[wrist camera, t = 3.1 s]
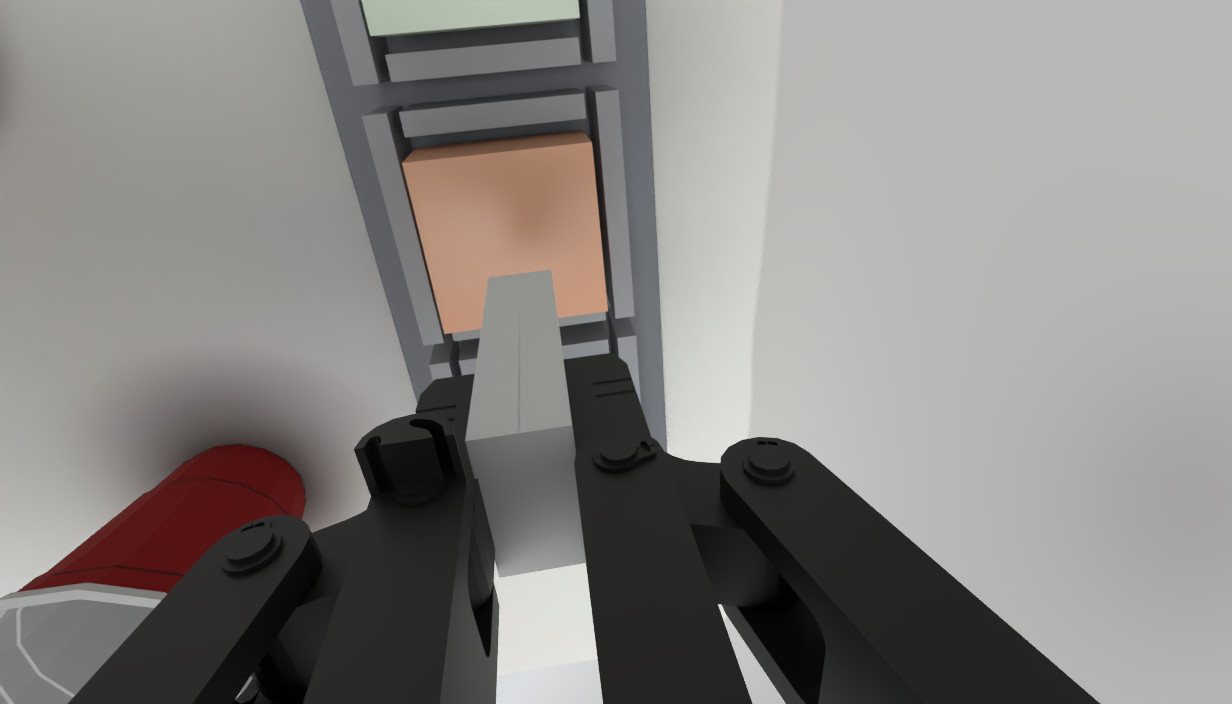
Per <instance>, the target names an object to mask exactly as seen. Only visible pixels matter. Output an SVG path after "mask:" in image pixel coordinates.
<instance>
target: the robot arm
mask: <svg viewBox="0 0 1232 704" xmlns="http://www.w3.org/2000/svg"><path fill="white" fill-rule="evenodd" d="M354 451H355V454H356V456H357V459H358V462H359V464H360V467H361V470H362V473H363V475H364V478H365V481H366V484H367V486H368V489H369V492H370V494H371V499H370V502H369V505H368V508H367V510H365V511H364V512H362V513H361V514H358V515H356V516H354V517H352V518H350V519H347V520H345V521H342V522H340V523H337V524H335V525H332V526H329V527H327V528H324V529H321V530H319V531H316V532H313V533H311V531H310V529H309V526H308V525H307V524H306V523H305V522H304V521H303V520H302V519H301V518H299V517H295V516H290V515H285V514H284V515H276V516H268V517H263V518H261V519H258V520H255V521H252V522H249V523H247V524H244V525H242V526H240V527H239V528H237V529H235V530H233V531H232V532H230V533H228V534H227V535H225V536H223V537H222V538H221V539H220V540H219V541H217V542H216V543H215V544H214V545H213V546H212V547H211V548H209V549H208V550H207V551H206V552H205V553H204V554H203V555H202V556H201V558H200V559H199V560H198V561H197V562H196V563H195V564H194V565H193V566H192V567H191V569H190V570H189V571H188V572H187V573H186V574H185V575H184V576H183V577H182V578H181V580H180V581H179V582H178V583H177V584H176V585H175V586H174V587H173V588H172V589H171V591H170V592H169V593H168V594H167V595H166V596H165V597H164V598H163V599H162V600H161V602H160V603H159V604H158V605H157V606H156V607H155V608H154V609H153V610H152V611H151V613H150V614H149V615H148V616H147V617H146V618H145V619H144V620H143V621H142V622H141V624H140V625H139V626H138V627H137V628H136V629H135V630H134V631H133V632H132V633H131V635H130V636H129V637H128V638H127V639H126V640H125V641H124V642H123V643H122V644H121V645H120V647H119V648H118V649H117V650H116V651H115V652H114V653H113V654H112V655H111V656H110V658H109V659H108V660H107V661H106V662H105V663H104V664H103V665H102V666H101V667H100V669H99V670H98V671H97V672H96V673H95V674H94V675H93V676H92V677H91V678H90V680H89V681H88V682H87V683H86V684H85V685H84V686H83V687H82V688H81V689H80V691H79V692H78V693H77V694H76V695H75V696H74V697H73V698H72V699H71V700H70V702H69V703H68V704H496V682H497V680H496V679H497V654H498V626H499V603H498V598H497V594H496V590H495V586H494V582H493V580H494V561H495V562H496V566H497V570H498V574H499V577H505V576H511V575H517V574H523V573H528V572H534V571H540V570H546V569H552V568H557V567H563V566H569V565H575V564H581V563H586V566H587V574H588V583H589V591H590V599H591V607H592V615H593V623H594V632H595V640H596V648H597V656H598V664H599V673H600V681H601V689H602V697H603V704H752V701H751V698H750V696H749V693H748V690H747V687H746V684H745V681H744V678H743V676H742V673H741V670H740V667H739V664H738V661H737V658H736V656H735V653H734V650H733V647H732V644H731V641H730V638H729V636H728V632H727V630H726V627H725V624H724V621H723V618H722V615H721V612H720V610H719V607H718V604H722V606H723V609H724V611H725V613H726V615H727V616H728V617H729V619H730V621H731V622H732V624H733V625H734V627H735V628H736V629H737V631H738V633H739V634H740V635H741V637H742V638H743V640H744V641H745V643H746V644H747V646H748V647H749V649H750V650H751V652H752V653H753V655H754V656H755V658H756V659H757V661H758V662H759V664H760V665H761V667H762V668H763V670H764V671H765V673H766V674H767V676H768V677H769V679H770V680H771V682H772V683H773V685H774V686H775V688H776V689H777V691H778V692H779V694H780V695H781V697H782V698H783V700H784V701H785V703H786V704H1100V703H1099V702H1098V701H1096V700H1095V699H1094V698H1093V697H1092V696H1091V695H1089V694H1088V693H1087V692H1086V691H1085V690H1084V689H1082V688H1081V687H1080V686H1079V685H1078V684H1077V683H1075V682H1074V681H1073V680H1072V679H1071V678H1070V677H1068V676H1067V675H1066V674H1065V673H1064V672H1063V671H1062V670H1060V669H1059V668H1058V667H1057V666H1056V665H1055V664H1054V663H1052V662H1051V661H1050V660H1049V659H1048V658H1046V657H1045V656H1044V655H1043V654H1042V653H1041V652H1040V651H1038V650H1037V649H1036V648H1035V647H1034V646H1033V645H1032V644H1030V643H1029V642H1028V641H1027V640H1025V639H1024V638H1023V637H1022V636H1021V635H1020V634H1019V633H1018V632H1016V631H1015V630H1014V629H1013V628H1012V627H1011V626H1009V625H1008V624H1007V623H1006V622H1005V621H1004V620H1003V619H1001V618H1000V617H999V616H998V615H997V614H996V613H994V612H993V611H992V610H991V609H990V608H988V607H987V606H986V605H985V604H984V603H983V602H981V601H980V600H979V599H978V598H977V597H976V596H975V595H973V594H972V593H971V592H970V591H969V590H968V589H967V588H965V587H964V586H963V585H962V584H961V583H960V582H958V581H957V580H956V579H955V578H954V577H953V576H951V575H950V574H949V573H948V572H947V571H946V570H945V569H943V568H942V567H941V566H940V565H939V564H938V563H936V562H935V561H934V560H933V559H932V558H931V557H929V556H928V555H927V554H926V553H925V552H924V551H922V550H921V549H920V548H919V547H918V546H917V545H916V544H914V543H913V542H912V541H911V540H910V539H909V538H907V537H906V536H905V535H904V534H903V533H902V532H901V531H899V530H898V529H897V528H896V527H895V526H893V525H892V524H891V523H890V522H889V521H888V520H887V519H885V518H884V517H883V516H882V515H881V514H880V513H878V512H877V511H876V510H875V509H874V508H873V507H871V506H870V505H869V504H868V503H867V502H866V501H865V500H863V499H862V498H861V497H860V496H859V495H857V494H856V493H855V492H854V491H853V490H852V489H851V488H849V487H848V486H847V485H846V484H845V483H844V482H842V481H841V480H840V479H839V478H838V477H837V476H835V475H834V474H833V473H832V472H831V471H830V470H829V469H827V468H826V467H825V466H824V465H823V464H822V463H820V462H819V461H818V460H817V459H816V458H815V457H813V456H812V455H811V454H810V453H809V452H807V451H806V450H804V449H803V448H801V447H799V446H798V445H796V444H794V443H791V442H788V441H785V440H781V439H778V438H766V437H765V438H764V437H757V438H751V439H746V440H741V441H739V442H737V443H736V444H734V445H732V446H730V447H728V449H727V450H726V451H725V453H724V454H723V455H722V456H721V463H707V462H696V461H689V460H683V459H680V458H677V457H674V456H672V455H670V454H668V453H666V452H665V451H664V450H663V448H662V447H661V445H660V444H659V443H658V441H657V440H655V439H654V438H652V437H651V434H650V431H649V428H648V425H647V422H646V419H645V416H644V413H643V410H642V407H641V404H640V401H639V398H638V395H637V392H636V389H635V386H634V383H633V380H632V377H631V374H630V371H629V368H628V365H627V363H626V362H624V361H623V360H622V359H620V358H619V357H618V356H617V355H615V354H614V353H606V354H598V355H591V356H584V357H577V358H570V359H564V357H563V350H562V343H561V336H560V329H559V322H558V315H557V308H556V301H555V293H554V286H553V279H552V272H551V270H544V271H536V272H528V273H520V274H512V275H505V276H497V277H489V278H488V284H487V291H486V298H485V305H484V312H483V319H482V326H481V333H480V340H479V347H478V354H477V361H476V368H475V374H469V375H462V376H455V377H448V378H440V379H435V380H434V381H433V382H432V383H431V384H430V385H429V386H428V387H427V388H426V389H425V390H424V391H423V392H422V393H421V395H420V398H419V401H418V405H417V408H416V414H412V415H408V416H404V417H400V418H396V419H393V420H391V421H388V422H386V423H384V424H382V425H380V426H377V427H376V428H374V429H373V430H372V431H370V432H369V433H368V434H366V435H365V436H364V437H362V439H361V440H360V441H359V443H358V444H357V446H356V447H355V448H354ZM250 676H251V677H252V680H251V682H250V683H249V685H248V686H247V688H246V689H245V690H244V691H243V692H242V693H241V694H240V695H239V697H238V698H237V699H236V697H237V696H238V694H239V693H240V691H241V690H242V688H243V687H244V685H245V684H246V682H247V681H248V679H249V678H250Z"/></svg>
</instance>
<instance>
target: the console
mask: <svg viewBox="0 0 1232 704" xmlns="http://www.w3.org/2000/svg"><path fill="white" fill-rule="evenodd" d="M300 1H301V5H302V8H303V11H304V15H305V18H306V22H307V25H308V29H309V32H310V36H311V39H312V42H313V46H314V49H315V53H316V56H317V60H318V63H319V66H320V70H321V73H322V77H323V80H324V84H325V87H326V90H327V94H328V97H329V101H330V104H331V108H332V111H333V115H334V118H335V121H336V125H337V128H338V132H339V135H340V139H341V142H342V145H343V149H344V152H345V156H346V159H347V163H348V166H349V170H350V173H351V176H352V180H353V183H354V187H355V190H356V194H357V197H358V200H359V204H360V207H361V211H362V214H363V218H364V221H365V224H366V228H367V231H368V235H369V238H370V242H371V245H372V249H373V252H374V255H375V259H376V262H377V266H378V269H379V273H380V276H381V279H382V283H383V286H384V290H385V293H386V297H387V300H388V303H389V307H390V310H391V314H392V317H393V321H394V324H395V328H396V331H397V334H398V338H399V341H400V345H401V348H402V352H403V355H404V358H405V362H406V365H407V369H408V372H409V376H410V379H411V382H412V386H413V389H414V393H415V396H416V400H417V403H418V401H419V398H420V395H421V393H422V392H423V391H424V390H425V389H426V388H427V387H428V386H429V385H430V384H431V383H432V382H433V381H434V380H435V379H440V378H448V377H455V376H462V375H469V374H475V368H476V361H477V354H478V347H479V340H480V333H481V329H477V330H470V331H462V332H455V333H448V334H444V330H443V326H442V322H441V318H440V314H439V310H438V306H437V302H436V298H435V294H434V290H433V286H432V282H431V278H430V274H429V270H428V266H427V262H426V258H425V254H424V250H423V246H422V242H421V238H420V234H419V230H418V225H417V221H416V217H415V213H414V209H413V205H412V201H411V197H410V193H409V189H408V185H407V181H406V177H405V173H404V169H403V165H402V162H403V161H404V160H405V159H406V158H407V157H408V156H409V155H410V154H411V153H412V152H413V151H414V149H415V148H421V147H430V146H439V145H448V144H458V143H467V142H476V141H486V140H495V139H504V138H514V137H523V136H532V135H542V134H551V133H560V132H570V131H579V130H583V132H584V133H585V134H586V135H587V137H588V138H589V139H590V140H591V142H592V147H593V158H594V168H595V179H596V190H597V200H598V211H599V221H600V232H601V242H602V253H603V263H604V274H605V284H606V295H607V305H608V311H606V312H599V313H592V314H585V315H577V316H570V317H563V318H558V322H559V329H560V336H561V343H562V350H563V357H564V359H570V358H577V357H584V356H591V355H598V354H606V353H614V354H615V355H617V356H618V357H619V358H620V359H622V360H623V361H624V362H626V363H627V365H628V368H629V371H630V374H631V377H632V380H633V383H634V386H635V389H636V392H637V395H638V398H639V401H640V404H641V407H642V410H643V413H644V416H645V419H646V422H647V425H648V428H649V431H650V434H651V437H652V438H654V439H655V440H657V441H658V443H659V444H660V445H661V447H662V448H663V450H664V451H665V452H666V453H667V443H666V423H665V402H664V381H663V360H662V340H661V319H660V298H659V277H658V256H657V236H656V215H655V194H654V173H653V152H652V132H651V111H650V90H649V69H648V49H647V28H646V7H645V0H578V3H579V13H580V18H578V19H575V20H572V21H566V22H554V23H543V24H532V25H521V26H509V27H498V28H487V29H475V30H464V31H453V32H441V33H430V34H419V35H407V36H396V37H380V36H370V33H369V29H368V25H367V21H366V17H365V13H364V9H363V5H362V1H361V0H300Z"/></svg>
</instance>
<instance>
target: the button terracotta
mask: <svg viewBox="0 0 1232 704" xmlns="http://www.w3.org/2000/svg"><path fill="white" fill-rule="evenodd" d="M402 165H403V169H404V173H405V177H406V181H407V185H408V189H409V193H410V197H411V201H412V205H413V209H414V213H415V217H416V221H417V225H418V230H419V234H420V238H421V242H422V246H423V250H424V254H425V258H426V262H427V266H428V270H429V274H430V278H431V282H432V286H433V290H434V294H435V298H436V302H437V306H438V310H439V314H440V318H441V322H442V326H443V330H444V334H448V333H455V332H462V331H470V330H477V329H481V326H482V319H483V312H484V305H485V298H486V291H487V284H488V278H489V277H497V276H505V275H512V274H520V273H528V272H536V271H544V270H551V272H552V279H553V286H554V293H555V301H556V308H557V315H558V318H563V317H570V316H577V315H585V314H592V313H599V312H606V311H608V305H607V295H606V284H605V274H604V263H603V253H602V242H601V232H600V221H599V211H598V200H597V190H596V179H595V168H594V158H593V147H592V142H591V140H590V139H589V138H588V137H587V135H586V134H585V133H584V132H583V130H579V131H570V132H560V133H551V134H542V135H532V136H523V137H514V138H504V139H495V140H486V141H476V142H467V143H458V144H448V145H439V146H430V147H421V148H415V149H414V151H413V152H412V153H411V154H410V155H409V156H408V157H407V158H406V159H405V160H404V161H403V162H402Z"/></svg>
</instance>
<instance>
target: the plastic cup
mask: <svg viewBox="0 0 1232 704" xmlns="http://www.w3.org/2000/svg"><path fill="white" fill-rule="evenodd" d="M304 496H305V489H304V486H303V483H302V480H301V477H300V475H299V474H298V473H297V472H296V471H295V470H294V469H293V468H292V466H291V465H290V464H289V463H288V462H287V461H286V460H284V459H282V458H280V457H278V456H276V455H275V454H273V453H271V452H269V451H267V450H265V449H261V448H255V447H250V446H245V445H239V444H238V445H228V446H218V447H213V448H211V449H209V450H207V451H205V452H203V453H201V454H199V455H196V456H195V457H193V458H192V459H190V460H188V461H186V462H184V463H183V464H182V465H181V466H179V467H178V468H177V469H176V470H175V471H174V472H172V473H171V474H170V475H169V476H168V477H167V478H165V479H164V480H163V481H162V482H161V483H160V484H158V485H157V486H156V487H155V488H154V489H153V490H151V491H149V492H147V493H145V494H143V495H142V496H140V497H139V498H138V499H137V500H135V501H134V502H133V503H132V504H131V505H129V506H128V507H127V508H126V509H124V510H123V511H122V512H121V513H119V514H118V515H117V516H116V517H114V518H113V519H112V520H111V521H110V522H108V523H107V524H106V525H105V526H103V527H102V528H101V529H100V530H98V531H97V532H96V533H95V534H93V535H92V536H91V537H90V538H88V539H87V540H86V541H85V542H84V543H82V544H81V545H80V546H79V547H77V548H76V549H75V550H74V551H72V552H71V553H70V554H69V555H67V556H66V557H65V558H64V559H63V560H61V561H60V562H59V563H58V564H56V565H55V566H54V567H53V568H51V569H50V570H49V571H48V572H46V573H44V574H42V575H40V576H38V577H36V578H35V579H33V580H32V581H31V582H29V583H28V584H27V585H26V586H24V587H23V588H22V589H20V590H19V591H17V592H14V593H10V594H8V595H6V596H4V597H2V598H0V704H68V703H69V702H70V700H71V699H72V698H73V697H74V696H75V695H76V694H77V693H78V692H79V691H80V689H81V688H82V687H83V686H84V685H85V684H86V683H87V682H88V681H89V680H90V678H91V677H92V676H93V675H94V674H95V673H96V672H97V671H98V670H99V669H100V667H101V666H102V665H103V664H104V663H105V662H106V661H107V660H108V659H109V658H110V656H111V655H112V654H113V653H114V652H115V651H116V650H117V649H118V648H119V647H120V645H121V644H122V643H123V642H124V641H125V640H126V639H127V638H128V637H129V636H130V635H131V633H132V632H133V631H134V630H135V629H136V628H137V627H138V626H139V625H140V624H141V622H142V621H143V620H144V619H145V618H146V617H147V616H148V615H149V614H150V613H151V611H152V610H153V609H154V608H155V607H156V606H157V605H158V604H159V603H160V602H161V600H162V599H163V598H164V597H165V596H166V595H167V594H168V593H169V592H170V591H171V589H172V588H173V587H174V586H175V585H176V584H177V583H178V582H179V581H180V580H181V578H182V577H183V576H184V575H185V574H186V573H187V572H188V571H189V570H190V569H191V567H192V566H193V565H194V564H195V563H196V562H197V561H198V560H199V559H200V558H201V556H202V555H203V554H204V553H205V552H206V551H207V550H208V549H209V548H211V547H212V546H213V545H214V544H215V543H216V542H217V541H219V540H220V539H221V538H222V537H223V536H225V535H227V534H228V533H230V532H232V531H233V530H235V529H237V528H239V527H240V526H242V525H244V524H247V523H249V522H252V521H255V520H258V519H261V518H263V517H268V516H276V515H284V514H285V515H290V516H295V517H299V518H301V519H302V516H303V511H304V506H305V502H306V499H305V497H304ZM251 680H252V677H251V676H250V678H249V679H248V681H247V682H246V684H245V685H244V687H243V688H242V690H241V691H240V693H239V694H238V696H237V697H236V699H237V698H238V697H239V695H240V694H241V693H242V692H243V691H244V690H245V689H246V688H247V686H248V685H249V683H250V682H251Z"/></svg>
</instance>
